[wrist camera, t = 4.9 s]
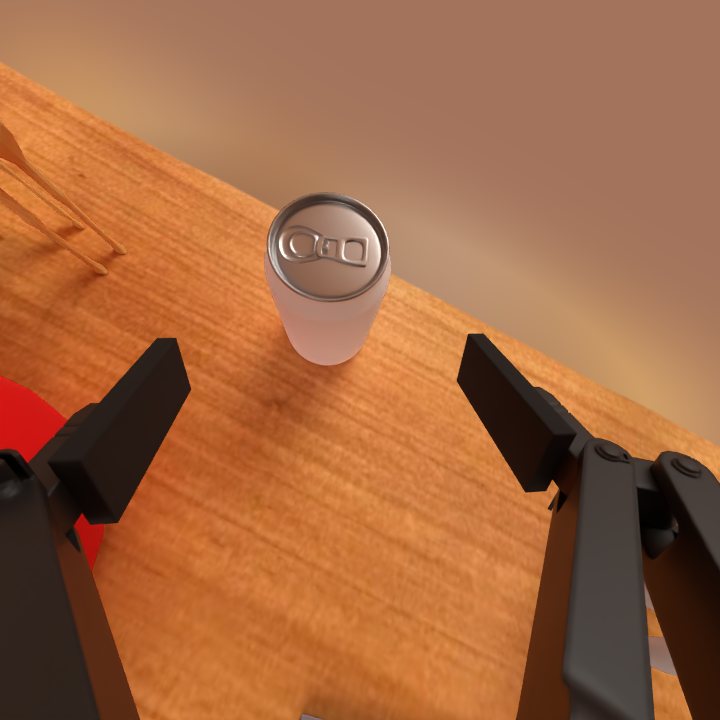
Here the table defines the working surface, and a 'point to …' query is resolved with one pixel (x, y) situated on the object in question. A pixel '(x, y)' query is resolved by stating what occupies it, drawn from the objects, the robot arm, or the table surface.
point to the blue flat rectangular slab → (308, 717)
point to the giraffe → (46, 200)
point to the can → (327, 274)
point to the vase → (38, 442)
